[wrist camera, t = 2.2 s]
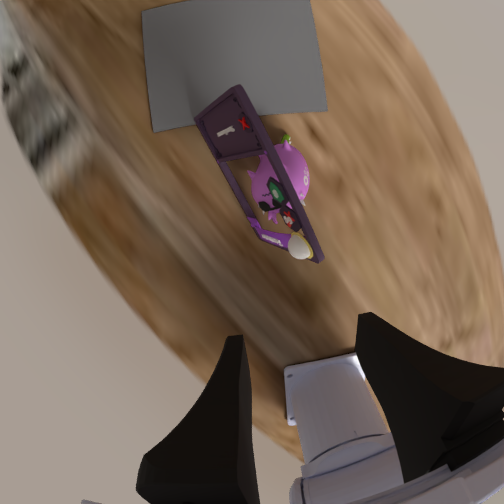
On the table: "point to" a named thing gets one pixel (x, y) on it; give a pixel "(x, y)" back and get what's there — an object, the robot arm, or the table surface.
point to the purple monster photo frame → (261, 170)
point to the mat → (231, 57)
